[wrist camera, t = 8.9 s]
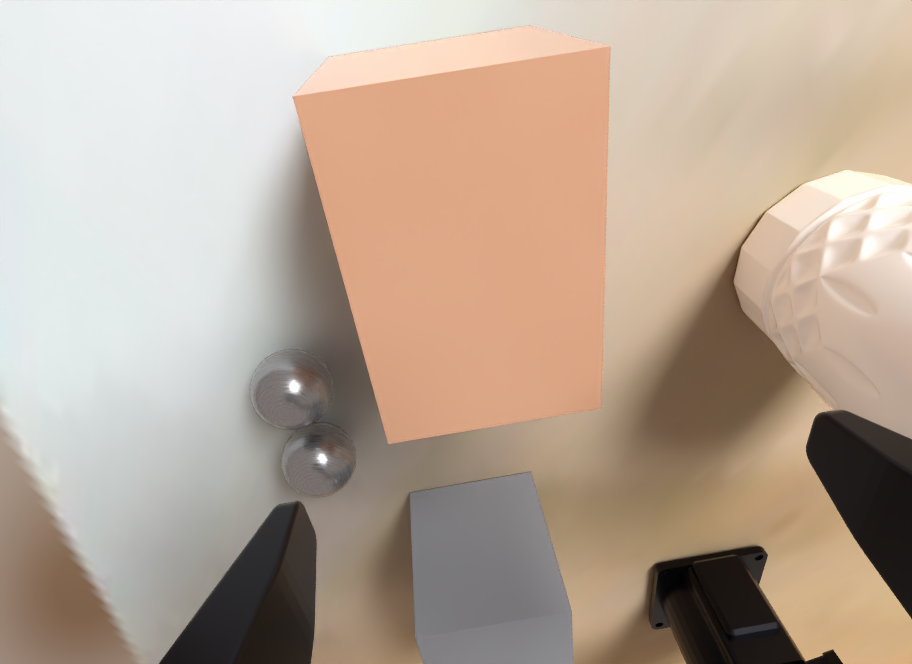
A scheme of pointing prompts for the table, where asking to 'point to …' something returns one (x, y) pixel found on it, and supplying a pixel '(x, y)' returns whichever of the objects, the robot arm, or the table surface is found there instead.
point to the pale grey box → (487, 576)
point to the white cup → (839, 291)
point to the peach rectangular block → (469, 222)
